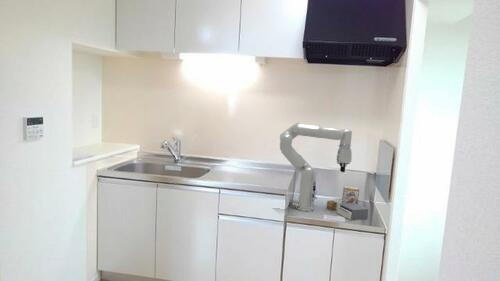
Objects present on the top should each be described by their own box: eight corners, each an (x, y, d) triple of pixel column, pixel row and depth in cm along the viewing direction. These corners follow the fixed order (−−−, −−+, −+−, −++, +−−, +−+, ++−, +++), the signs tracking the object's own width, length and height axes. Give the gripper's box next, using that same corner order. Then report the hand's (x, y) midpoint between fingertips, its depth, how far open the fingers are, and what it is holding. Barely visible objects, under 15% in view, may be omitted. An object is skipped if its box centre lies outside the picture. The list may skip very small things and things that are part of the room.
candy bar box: (341, 208, 244) (343, 187, 243) (341, 206, 249) (343, 185, 248) (357, 211, 242) (359, 189, 240) (356, 208, 247) (358, 187, 245)
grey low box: (351, 220, 221) (353, 210, 220) (339, 213, 234) (340, 203, 233) (367, 218, 226) (368, 208, 225) (353, 212, 239) (354, 202, 238)
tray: (349, 219, 220) (350, 212, 220) (336, 212, 233) (337, 206, 233) (365, 218, 225) (366, 211, 225) (352, 211, 238) (352, 205, 238)
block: (330, 210, 238) (331, 202, 237) (326, 208, 243) (327, 200, 242) (336, 210, 240) (337, 202, 239) (332, 208, 245) (333, 200, 244)
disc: (357, 214, 227) (358, 212, 227) (349, 214, 225) (349, 212, 225) (352, 211, 233) (352, 209, 233) (343, 211, 232) (344, 209, 231)
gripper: (339, 147, 228) (337, 173, 230) (356, 147, 234) (354, 172, 236) (333, 145, 235) (330, 170, 237) (350, 146, 241) (347, 170, 243)
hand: (342, 171), depth 236 cm, fingers closed
